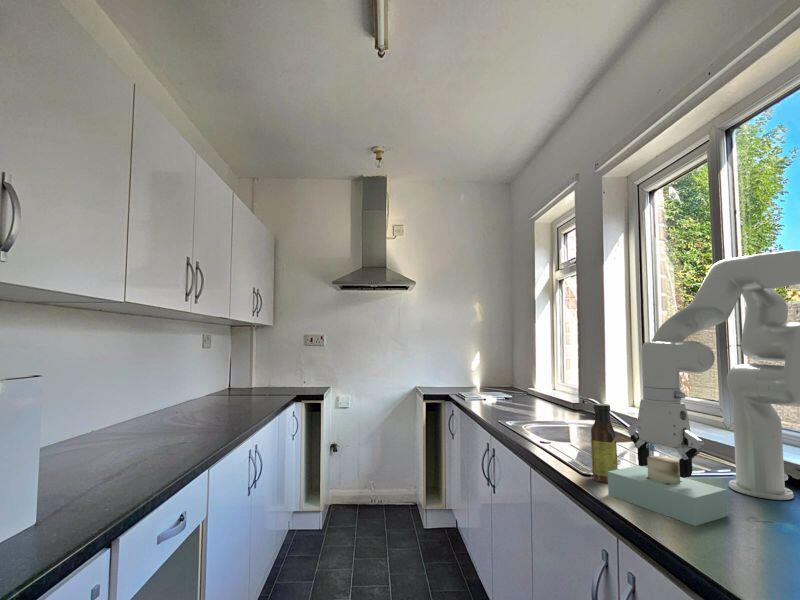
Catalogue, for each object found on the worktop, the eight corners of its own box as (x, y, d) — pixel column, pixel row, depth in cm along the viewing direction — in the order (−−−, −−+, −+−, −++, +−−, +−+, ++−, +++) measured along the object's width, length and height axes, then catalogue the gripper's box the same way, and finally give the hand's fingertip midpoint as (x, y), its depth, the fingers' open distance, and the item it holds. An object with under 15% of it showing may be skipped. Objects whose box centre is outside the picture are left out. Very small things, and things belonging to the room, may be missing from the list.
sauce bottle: (622, 484, 117) (621, 406, 118) (599, 484, 116) (597, 406, 118) (609, 476, 123) (607, 402, 125) (587, 476, 123) (586, 402, 125)
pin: (659, 495, 107) (658, 454, 108) (687, 505, 101) (685, 461, 102) (642, 500, 104) (641, 457, 105) (669, 509, 98) (668, 464, 99)
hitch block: (640, 487, 114) (639, 465, 115) (727, 516, 97) (726, 489, 97) (608, 494, 109) (607, 471, 109) (695, 526, 91) (694, 497, 91)
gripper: (710, 398, 99) (714, 479, 97) (636, 390, 114) (639, 459, 113) (690, 400, 95) (693, 484, 94) (617, 391, 110) (619, 463, 109)
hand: (664, 470), depth 103 cm, fingers open, 9 cm apart
